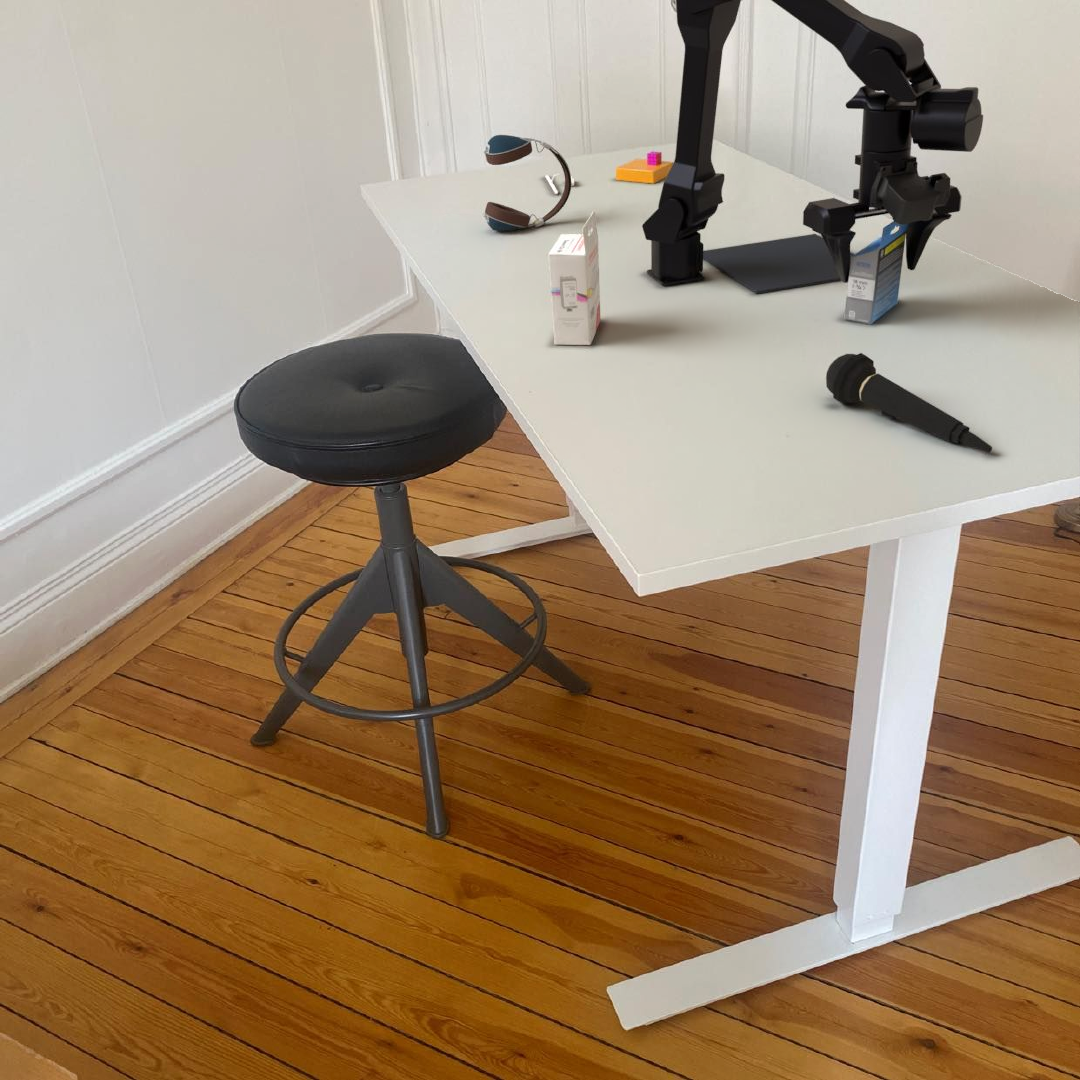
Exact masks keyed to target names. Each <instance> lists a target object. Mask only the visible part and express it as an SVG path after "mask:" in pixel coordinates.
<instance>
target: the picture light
mask: <svg viewBox="0 0 1080 1080" xmlns="http://www.w3.org/2000/svg"><path fill="white" fill-rule="evenodd" d="M557 176H559V174H558V173H555V174H554V175H553V176H552V177H550V175H549V174H546V175H545V179H546V181H547V182H548V184H549V185H550V187H551V189H552V190H553V193H554V194H555V195H558V194H559V190H558V188H557V187H556V185H555V184H554V181H553V180H554V179H555V178H556V177H557ZM560 176H562V177H563V178H564V179H565V175H564V174H562V173H560ZM573 186H575V179H574V178H573V176H572V175H571V187H573Z"/></svg>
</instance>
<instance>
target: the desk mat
mask: <svg viewBox="0 0 1080 1080" xmlns="http://www.w3.org/2000/svg"><path fill="white" fill-rule="evenodd" d="M855 254H856V253H853V252H851V251H850V261H851V257H852V256H853V255H855ZM703 261H706V262H707V263H709V264H710V265H712V266H713V267H715V268H716V269H717V270H719V271H721V272H722V273H724V274H725V275H727V276H728V277H730V278H731V279H733V280H734V281H736V282H737V283H739V284H741V285H742V286H743V287H745V288H746V289H748V290H749V291H751V292H753V293H754V294H755V295H759V294H765V293H771V292H778V291H784V290H790V289H795V288H801V287H809V286H814V285H820V284H826V283H833V282H839V281H841V279H840V276H839V274H838V271H837V269H836V266H835V264H834V261H833V259H832V256H831V254H830V251H829V249H828V247H827V245H826V243H825V241H824V239H823V238H822V236H820V235H818V234H816V233H813V234H812V233H811V234H805V235H798V236H792V237H785V238H779V239H772V240H766V241H765V240H764V241H760V242H753V243H747V244H740V245H735V246H734V245H733V246H725V247H720V248H713V249H706V250H703Z"/></svg>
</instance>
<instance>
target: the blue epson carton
mask: <svg viewBox="0 0 1080 1080" xmlns="http://www.w3.org/2000/svg"><path fill="white" fill-rule="evenodd" d="M907 225H908V224H906V225H901V224H898V223H896V222H895V221H894V220H893V221H891V222H890V223H888V224H887V225H885V226H884V227H883V228H882V232H881V236H880V237H878V238H876V239H875V240H873V241H872V242H871V243H869V244H868V245H866V246H864V247H863V248H862V249H860V250H859V251H858V252H855V253H854V254H855V255H853V256H852V257H851V261H850V270H849V279H848V282H847V289H846V299H845V307H844V308H845V309H844V315H843V316H844V317H843V319H844V320H845V321H848V322H853V323H857V324H864V325H868V326H870V325H872V324H873V323H875V322H876V321H877V320H878V319H879V318H881V317H882V316H883V315H885V314H886V313H887V312H888V311H890V310H891V309H892V308H894V307H895V306H897V304H899V303H898V302H899V294H900V293H899V292H900V283H901V278H902V277H901V276H902V270H903V269H902V267H903V260H904V252H905V246H906V230H907ZM895 228H898V230H896V231H895V232H893V233H892V231H893V230H894V229H895Z"/></svg>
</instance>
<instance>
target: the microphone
mask: <svg viewBox="0 0 1080 1080" xmlns="http://www.w3.org/2000/svg"><path fill="white" fill-rule="evenodd" d="M874 364H875V363H874V360H873V359H871V358H870V357H869V356H868V355H866V354H864V353H862V352H860V353H857V354H856V353H845V354H842V355H840V356H838V357H837V358H835V359H834V360H833V361H832V362H831V363H830V365H828V368H827V371H826V376H825V383H826V385H825V386H826V389H828V391H829V392H830V393H831V394H832V398H833V399H834V400H835V401H837V402H838V403H840V404H842V405H845V406H848V405H850V404H855V403H858V402H861V403H863V404H865V405H867V406H869V407H871V408H873V409H876V410H877V411H880V414H881V415H882V416H884V417H886V418H888V419H891V420H898V419H899V420H900V421H902V422H905V423H907V424H909V425H911V426H914V427H915V428H918V429H920V430H922V431H925V432H927V433H929V434H931V435H933V436H936V437H938V438H941V439H943V440H945V441H947V442H949V443H954V444H957V445H959V444H960V445H962V444H964V445H966V446H968V447H971V448H974V449H976V450H979V451H983V452H985V453H990V452H991V451H992V450H993V446H992V445H991V444H989V443H987V442H986V441H985V440H983V439H982V438H980V437H979V436H977V435H976V434H975V433H973V432H971V431H970V426H967V425H965V424H964V423H963V422H962V421H961V420H959V419H957V418H956V417H954V416H952V415H950V414H949V413H947V412H945V411H943V410H942V409H940V408H938V407H937V406H935V405H933V404H931V403H929V401H926V400H925V399H923V398H921V397H920V396H917V394H914V393H913V392H911V391H909V390H908V389H906V388H904V387H902V386H901V385H899V384H897V383H896V382H894V381H892V380H890V379H888V378H887V377H885V376H883V375H882V374H881V373H877V369H876V367H875V365H874Z"/></svg>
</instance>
